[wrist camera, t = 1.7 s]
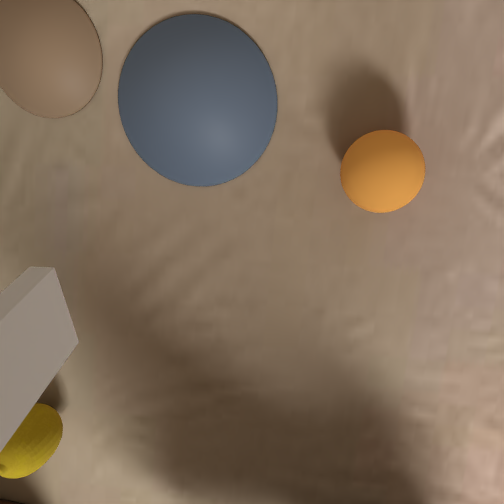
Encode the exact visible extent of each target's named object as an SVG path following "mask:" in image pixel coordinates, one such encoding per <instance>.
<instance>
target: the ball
mask: <svg viewBox="0 0 504 504" xmlns="http://www.w3.org/2000/svg"><path fill="white" fill-rule="evenodd" d="M340 176H341V183H342V186H343V189H344V191H345V193H346V194H347V196H348V197H349V198H350V200H351V201H352V202H353V203H355V204H356V205H357V206H359V207H361V208H362V209H365V210H367V211H371V212H377V213H384V212H390V211H394V210H397V209H399V208H401V207H403V206H405V205H406V204H408V203H409V202H410V201H411V200H412V199H413V198H414V197H415V196H416V195H417V193H418V192H419V190H420V188H421V186H422V184H423V181H424V177H425V162H424V157H423V154H422V152H421V150H420V148H419V147H418V146H417V144H416V143H415V142H414V141H413V140H412V139H410V138H409V137H408V136H406V135H404V134H402V133H400V132H397V131H392V130H378V131H373V132H370V133H367V134H365V135H363V136H362V137H360V138H359V139H357V140H356V141H355V142H354V143H353V144H352V145H351V146H350V147H349V149H348V150H347V152H346V153H345V155H344V158H343V160H342V164H341V172H340Z"/></svg>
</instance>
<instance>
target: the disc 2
mask: <svg viewBox="0 0 504 504" xmlns="http://www.w3.org/2000/svg"><path fill="white" fill-rule="evenodd" d="M118 104H119V112H120V117H121V121H122V125H123V127H124V130H125V133H126V135H127V137H128V139H129V141H130V143H131V145H132V146H133V148H134V149H135V151H136V152H137V153H138V155H139V156H140V157H141V158H142V159H143V161H145V162H146V163H147V164H148V165H149V166H150V167H151V168H152V169H154V170H155V171H156V172H158V173H159V174H161V175H162V176H164V177H166V178H168V179H170V180H173V181H175V182H178V183H181V184H185V185H191V186H212V185H218V184H221V183H225V182H227V181H230V180H232V179H234V178H236V177H238V176H239V175H241V174H243V173H244V172H245V171H246V170H248V169H249V168H250V167H251V166H252V165H253V164H254V163H255V162H256V161H257V160H258V159H259V157H260V156H261V155H262V153H263V152H264V150H265V149H266V147H267V145H268V143H269V141H270V139H271V136H272V133H273V131H274V127H275V123H276V116H277V92H276V85H275V81H274V78H273V74H272V72H271V69H270V67H269V64H268V62H267V61H266V59H265V57H264V55H263V53H262V52H261V51H260V49H259V48H258V47H257V45H256V44H255V43H254V42H253V41H252V40H251V39H250V38H249V37H248V36H247V35H246V34H245V33H244V32H242V31H241V30H240V29H239V28H237V27H235V26H234V25H232V24H230V23H229V22H226V21H224V20H221V19H219V18H216V17H212V16H208V15H199V14H189V15H181V16H176V17H172V18H170V19H167V20H164V21H162V22H161V23H159V24H157V25H155V26H154V27H152V28H151V29H150V30H148V31H147V32H146V33H145V34H144V35H143V36H142V37H141V38H140V39H139V40H138V41H137V42H136V44H135V45H134V46H133V48H132V49H131V51H130V53H129V55H128V57H127V58H126V61H125V63H124V66H123V69H122V72H121V76H120V80H119V89H118Z"/></svg>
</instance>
